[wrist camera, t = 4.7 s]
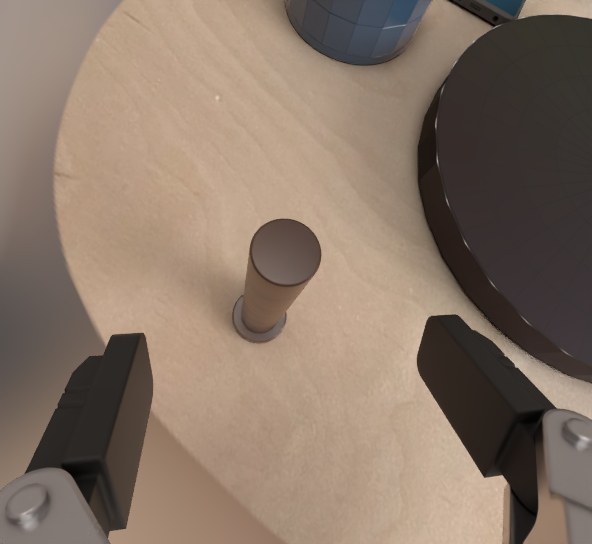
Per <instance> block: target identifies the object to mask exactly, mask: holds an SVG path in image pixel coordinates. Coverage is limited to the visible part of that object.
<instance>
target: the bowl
mask: <svg viewBox="0 0 592 544" xmlns="http://www.w3.org/2000/svg"><path fill="white" fill-rule="evenodd" d="M432 2H433V0H285V5H286V10H287V14H288V16H289V19H290V21H291V23H292V25H293V27H294V28H295V30H296V31H297V32H298V34H299V35H300V36H301V37H302V38H303V39H304V40H305V41H306V42H307V43H308V44H310V45H311V46H312V47H313V48H315V49H316V50H318V51H319V52H321V53H323V54H325V55H327V56H328V57H331V58H333V59H336V60H339V61H342V62H345V63H351V64H358V65H372V64H379V63H383V62H386V61H389V60H391V59H393V58H395V57H396V56H398V55H400V54H401V53H402V52H403V51H404V50H405V49H406V48H407V47H408V45H409V44H410V42H411V40H412V38H413V36H414V35H415V33H416V32H417V30H418V28H419V26H420V25H421V23H422V21H423V19H424V17H425V15H426V13H427V11H428V9H429V8H430V6H431V4H432Z"/></svg>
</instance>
